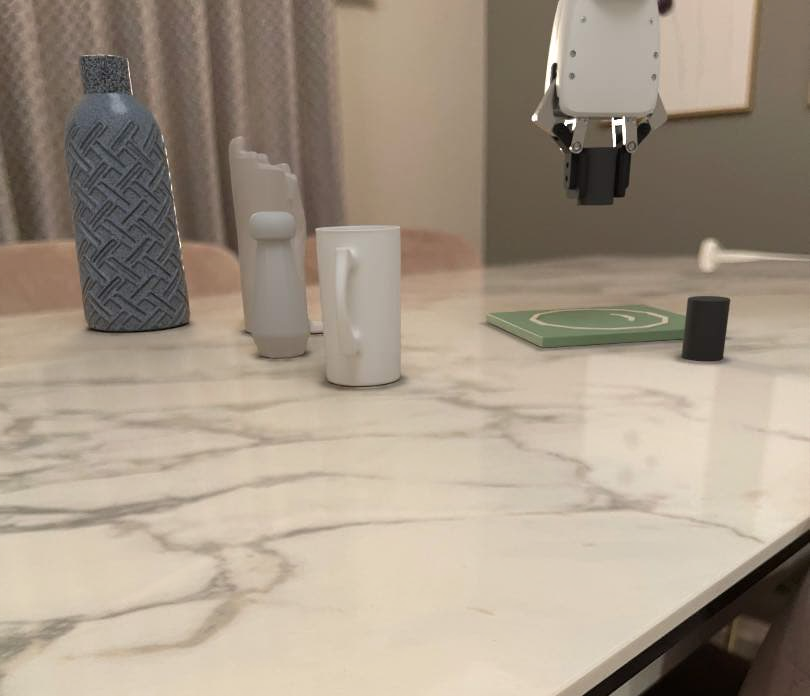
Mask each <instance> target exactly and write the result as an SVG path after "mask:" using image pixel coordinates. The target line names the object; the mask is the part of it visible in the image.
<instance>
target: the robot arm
mask: <svg viewBox="0 0 810 696" xmlns="http://www.w3.org/2000/svg"><path fill="white" fill-rule="evenodd" d="M550 36H551V38H550V42H549V49H548V54H547V55H548V57H547V62H546V63H547V64H546V73H545V82H544V93H543V94H544V95H543V97H542V98H541V100H540V102H539V104H538V106H537V108H536V109H535V111H534V112H533V115H532V117H531V120H532V123H533V124H535V125H536V126H537V127H539V128H540V129H542V130H543V131H544V132H545V133H547V134H549V136H550V137H551V138H552V140H553V141H554V142H555V143H556V144H557V146H558V147H559V150H560V153H562V155H564V165H563V166H564V167H563V182H562V183H563V189H564V190H565V191H566V192H565V197H566V199H577V198H583V197H584V196H585V190H586V175H587V159H588V157H587V155H586V153H583V148H584V143H585V138H586V132H587V128H588V123H589V121H611V126H612V127H611V129H612V140H613V141H612V144H613V146H612V147H617V160H616V173H615V186H614V199H615V198H617V199H619V198H625V196H626V192H627V191H626V190H627V189H628V188H629V185H630V175H631V163H632V154H633V153H635V152H636V151H637V149H638V146H639V145H640V144H641V143H642V142H644V140H645V139H646V138H647V137H648V136H649V134H650V133H651V132H653V131H655V130H656V129H657V128H659V127H661V126H662V125H663V124H665V123H666V122H667V121H668V118H669V117H668V113H667V110H666V108H665V105H664V103H663V100H662V98H661V96H660V93H659V87H660V86H659V85H660V70H661V67H660V66H661V28H660V14H659V4H658V0H558V3H557V6H556V10H555V15H554V20H553V24H552V30H551V35H550ZM639 117H644V118H643V119H641V120H640V121H639V122H637V118H639ZM562 121H564V122H562Z"/></svg>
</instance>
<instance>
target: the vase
mask: <svg viewBox="0 0 810 696" xmlns="http://www.w3.org/2000/svg"><path fill="white" fill-rule="evenodd" d="M77 62H78V67H79V75H80V81H81V88H82V89H81V90H82V94H83V95H82V96H81V98H80V99H79V100H78V101H77V102H76V103H75V104H74V105H73V107H72V108H71V109H70V111H69V113H68V115H67V117H66V120H65V123H64V128H63V155H64V164H65V172H66V181H67V187H68V196H69V205H70V212H71V219H72V228H73V236H74V243H75V252H76V259H77V268H78V275H79V283H80V290H81V298H82V299H81V300H82V307H83V314H84V319H85V322H86V324H87V326H88V328H90V329H93V330H97V331H101V332H111V333H112V332H113V333H131V332H133V333H134V332H149V331H158V330H164V329H165V330H166V329H171V328H175V327H179V326H182V325H184V324H186V323H188V322H189V321H190V318H191V308H190V300H189V293H188V286H187V279H186V274H185V272H186V271H185V266H184V260H183V252H182V247H181V246H182V245H181V240H180V239H181V238H180V235H179V234H180V232H179V225H178V219H177V213H176V206H175V199H174V192H173V185H172V180H171V173H170V165H169V159H168V154H167V149H166V143H165V141H164V136H163V134H162V129H160V126H159V123H158V121H157V120H156V118H155V117H154V116H153V114H152V113H151V112H150V110H149V109H148V108H147V107H146V106H144V104H142V103H141V102H140V101H139V100H138V99H136V98H135V96H134V95H133V89H132V88H133V87H132V81H131V75H130V65H129V59H128V58H127V57H125V56H122V55H121V56H120V55H111V54H88V55H80V56H79V57H78V58H77Z"/></svg>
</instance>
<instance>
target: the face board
mask: <svg viewBox="0 0 810 696" xmlns="http://www.w3.org/2000/svg"><path fill="white" fill-rule="evenodd" d="M685 320H686V315H684V314H680V313H676V312H673V311H669V310H665V309H661V308H658V307H654V306H650V305H645V304H631V305H628V304H627V305H611V306H593V307H591V306H590V307H575V308H556V309H538V310H537V309H536V310H535V309H534V310H519V311H497V312H487V313H486V323H489V324H490V325H493V326H495V327H497V328H500V329H502V330H504V331H506V332H508V333H511V334H513V335H515V336H517V337H518V338H521V339H523V340H525V341H527V342H529V343H531V344H533V345H536V346H538V347H540V348H542V349H546V348H563V347H578V346H579V347H580V346H591V345H593V346H594V345H609V344H610V345H611V344H624V343H640V342H641V343H642V342H656V341H659V342H660V341H673V340H683V338H684V329H685Z"/></svg>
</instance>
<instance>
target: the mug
mask: <svg viewBox="0 0 810 696" xmlns="http://www.w3.org/2000/svg"><path fill="white" fill-rule="evenodd" d="M315 238H316V239H315V241H316V258H317V261H316V262H317V272H318V273H317V274H318V283H319V284H318V285H319V296H320V306H321V307H320V308H321V321H322V324H323V333H322V337H323V347H324V348H323V349H324V358H325V359H324V360H325V369H326V378H327V381H328V382H330V383H332V384H335V385H340V386H348V387H370V386H371V387H372V386H380V385H381V386H382V385H386V384H390V383H394V382H396V381H398V380H399V379H400V378H401V373H402V371H401V369H402V368H401V367H402V365H401V364H402V245H401V244H402V239H401V227H400V226H398V225H342V226H326V227H317V228H315Z"/></svg>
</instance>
